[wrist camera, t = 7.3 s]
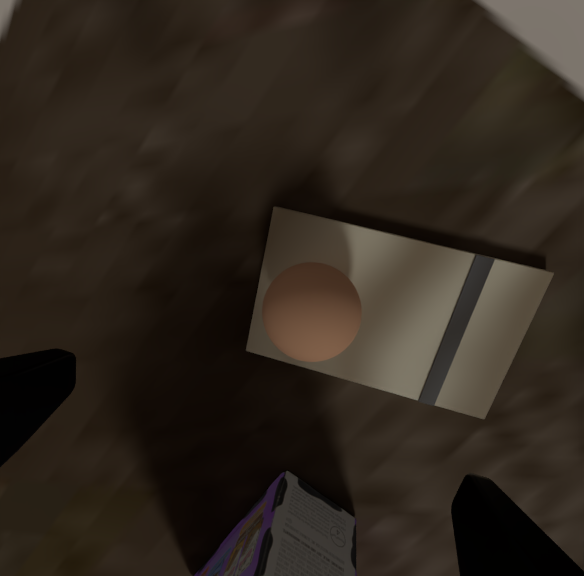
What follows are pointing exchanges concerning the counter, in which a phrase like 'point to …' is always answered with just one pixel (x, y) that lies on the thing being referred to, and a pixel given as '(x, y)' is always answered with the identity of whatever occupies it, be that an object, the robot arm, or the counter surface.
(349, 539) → the candy box
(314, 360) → the ball
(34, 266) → the counter surface
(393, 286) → the board
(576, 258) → the counter surface
